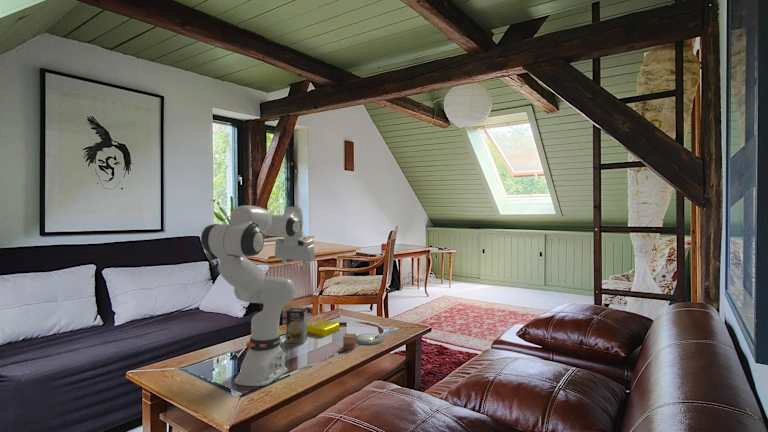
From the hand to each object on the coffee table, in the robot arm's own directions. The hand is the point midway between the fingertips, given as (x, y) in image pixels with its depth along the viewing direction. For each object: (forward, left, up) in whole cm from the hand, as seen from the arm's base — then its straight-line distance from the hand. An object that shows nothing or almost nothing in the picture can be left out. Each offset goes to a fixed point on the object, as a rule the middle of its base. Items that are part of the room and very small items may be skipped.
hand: (294, 268), depth 199 cm
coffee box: (+9, +3, -38) cm, 40 cm away
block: (+5, -25, -38) cm, 46 cm away
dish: (+17, -32, -38) cm, 53 cm away
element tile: (+27, -4, -39) cm, 48 cm away
